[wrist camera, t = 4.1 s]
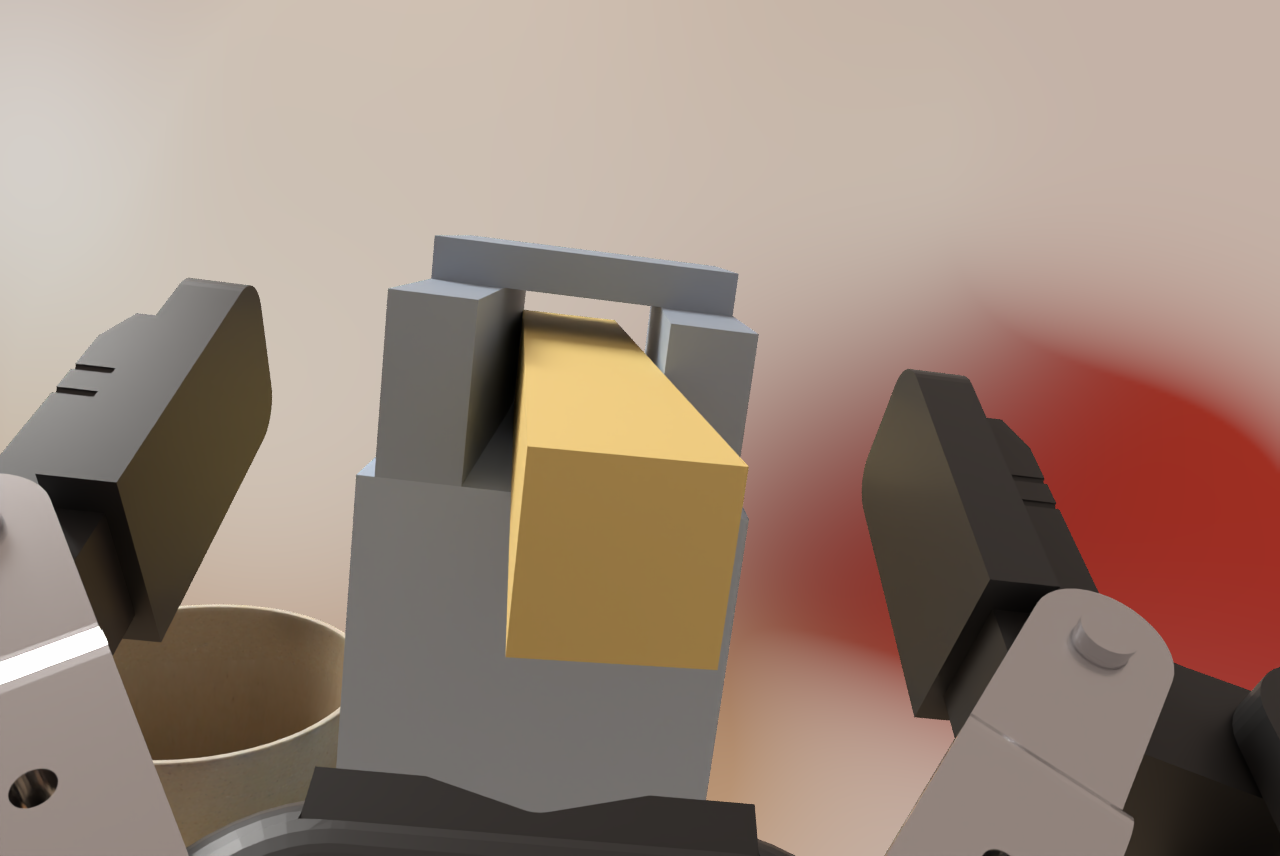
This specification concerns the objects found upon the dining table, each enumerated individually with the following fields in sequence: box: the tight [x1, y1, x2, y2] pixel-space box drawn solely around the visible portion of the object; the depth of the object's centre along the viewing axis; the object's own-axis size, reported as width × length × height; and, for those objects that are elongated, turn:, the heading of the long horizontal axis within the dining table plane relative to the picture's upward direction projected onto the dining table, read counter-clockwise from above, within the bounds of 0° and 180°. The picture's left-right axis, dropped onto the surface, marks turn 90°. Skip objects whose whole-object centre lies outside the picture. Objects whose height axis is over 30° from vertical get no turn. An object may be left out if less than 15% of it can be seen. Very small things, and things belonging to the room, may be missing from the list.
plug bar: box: [505, 310, 748, 670], centre depth 28 cm, size 24×4×4 cm, turn 7°
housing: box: [336, 235, 758, 813], centre depth 36 cm, size 14×11×37 cm
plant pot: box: [113, 604, 345, 848], centre depth 45 cm, size 15×15×16 cm
